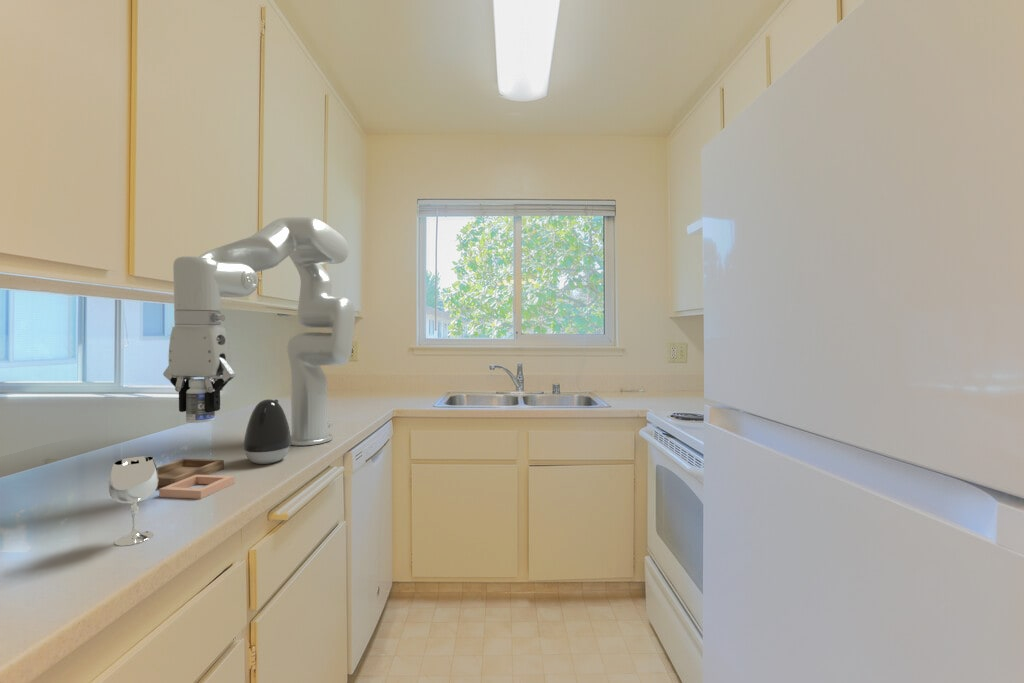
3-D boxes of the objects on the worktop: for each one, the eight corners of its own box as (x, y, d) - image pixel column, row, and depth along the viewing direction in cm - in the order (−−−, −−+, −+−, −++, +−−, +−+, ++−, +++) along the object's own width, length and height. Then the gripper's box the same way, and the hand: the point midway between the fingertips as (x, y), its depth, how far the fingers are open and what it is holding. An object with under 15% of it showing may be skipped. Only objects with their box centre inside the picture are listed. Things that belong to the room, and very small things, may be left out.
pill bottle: (199, 423, 84) (200, 380, 84) (179, 422, 85) (180, 380, 85) (220, 419, 89) (221, 378, 89) (201, 418, 90) (201, 378, 90)
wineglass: (135, 529, 69) (135, 454, 69) (168, 531, 69) (168, 456, 69) (97, 546, 64) (97, 465, 63) (133, 549, 63) (132, 467, 63)
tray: (183, 467, 101) (183, 458, 101) (223, 468, 100) (223, 460, 100) (129, 486, 88) (129, 476, 88) (175, 488, 87) (175, 478, 87)
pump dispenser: (297, 454, 112) (297, 396, 112) (281, 466, 102) (281, 402, 102) (255, 455, 111) (255, 396, 111) (235, 468, 101) (235, 402, 100)
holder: (195, 481, 91) (195, 474, 91) (234, 483, 91) (234, 476, 91) (159, 496, 83) (159, 489, 83) (200, 498, 82) (200, 490, 82)
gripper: (251, 320, 89) (252, 408, 90) (175, 320, 91) (176, 406, 91) (223, 320, 82) (225, 416, 82) (141, 319, 83) (143, 413, 84)
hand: (199, 410), depth 87 cm, fingers closed on pill bottle, 4 cm apart
